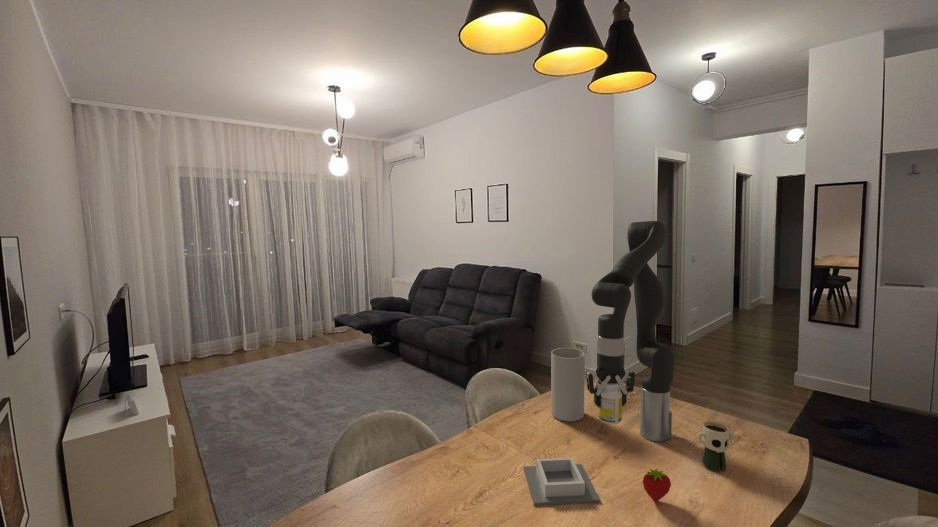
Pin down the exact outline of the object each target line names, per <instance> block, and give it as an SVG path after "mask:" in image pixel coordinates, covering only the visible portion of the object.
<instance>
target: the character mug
mask: <svg viewBox="0 0 938 527" xmlns="http://www.w3.org/2000/svg"><path fill="white" fill-rule="evenodd" d="M733 433H734V432H733V431H731V430H730V428H729V427H728V426H727V425H725V424H724V423H722V422H719V421H714V420H706V421H703V422H702V424H701V432H698V433H697V443H698V444H702V445H703V446H704V451H703V454H702V460H701V463H702V464H703V465H704V466H705V467H706V468H707V469H709V470H711V471H715V472H720V469H721V470H722V472H724V471H725V470H726V469H727V468H726V467H727V466H726V464H727V462H726V453H725V452H727V451H728V450H729V447H730V442H733V436H734V434H733Z"/></svg>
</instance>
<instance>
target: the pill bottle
mask: <svg viewBox="0 0 938 527" xmlns="http://www.w3.org/2000/svg"><path fill="white" fill-rule="evenodd" d="M600 395H601V407H598V418H599V420H600V421H601V422H603V423H605V424H609V425H617V424H620V423H621V422H622V420H623V414H622V413H623V406H622V393H621V390H620V389H619V384H618V383H611V384H607V385H606V386H605V388H604V389H603V390H602V392H601V393H600Z"/></svg>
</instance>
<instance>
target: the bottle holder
mask: <svg viewBox="0 0 938 527" xmlns="http://www.w3.org/2000/svg"><path fill="white" fill-rule="evenodd" d="M583 466H584V465H583V464H582V463H575V460H574V458H573V457H560V458H559V457H558V458H556V457H554V458H552V457H551V458H537V459H535V465H530V466H529V465H527V466H523V471H524V475H525V479H526V482H527V485H528V490H529V493H530V495H531V496H530V497H531V500H532V503H533V506H551V505H573V504H574V505H575V504H594V503H595V504H597V503H598V504H599V503H601V499H600V497H599V495H598V493H597V491H596V489H595V487H594V485H593V484H592V482H591V479H590V477H589V476H588V474H587V472H586V470H585V468H584V467H583Z"/></svg>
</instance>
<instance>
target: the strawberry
mask: <svg viewBox="0 0 938 527" xmlns="http://www.w3.org/2000/svg"><path fill="white" fill-rule="evenodd" d="M648 469H649V470H650V471H646V474H645V475H644V476H643V479H642V485H643V489H644V491H645V492H646V494H647V495H648V496H649V497H650V499H651V500H652V501H654V502H658V501H660V500H661V499H663V498H664V497H665V496H666V495H667V494H669V491H670V489H671V486H672V483H671V479H670V477H669V476H668V475H667V474H665V473H663V472H664V470H659V467H658V468H655V469H652V468H648Z"/></svg>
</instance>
